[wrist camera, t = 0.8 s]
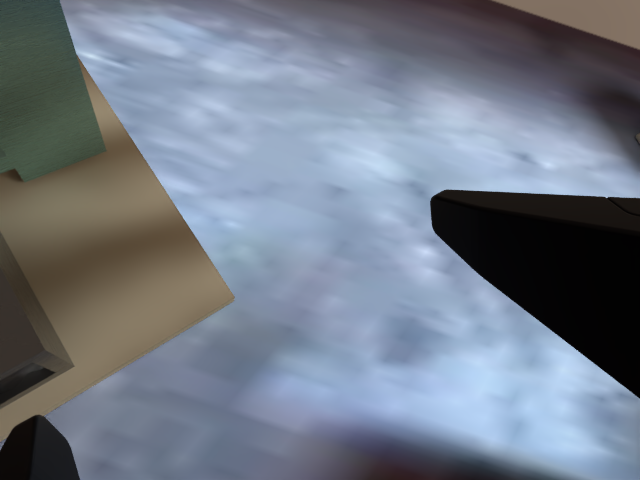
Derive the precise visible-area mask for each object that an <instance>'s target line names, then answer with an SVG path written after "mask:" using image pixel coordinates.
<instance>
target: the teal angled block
mask: <svg viewBox="0 0 640 480" xmlns="http://www.w3.org/2000/svg"><path fill="white" fill-rule="evenodd" d="M106 151H107V150H106V147H105V144H104V141H103V138H102V134H101V131H100V128H99V125H98V122H97V119H96V115H95V112H94V109H93V106H92V103H91V99H90V96H89V93H88V90H87V87H86V83H85V80H84V77H83V74H82V71H81V67H80V64H79V61H78V58H77V55H76V52H75V48H74V45H73V42H72V39H71V36H70V32H69V29H68V26H67V23H66V20H65V16H64V13H63V10H62V7H61V4H60V0H0V174H1V173H4V172H7V171H9V170H12V169H16V170H17V172H18V173H19V175H20V176H21V178H22V179H23V181H24V182H28V181H30V180H33V179H36V178H38V177H41V176H43V175H46V174H48V173H51V172H54V171H56V170H59V169H61V168H64V167H67V166H69V165H72V164H74V163H77V162H80V161H82V160H85V159H87V158H90V157H93V156H95V155H98V154H100V153H103V152H106Z"/></svg>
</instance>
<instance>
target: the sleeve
mask: <svg viewBox="0 0 640 480" xmlns="http://www.w3.org/2000/svg"><path fill="white" fill-rule="evenodd" d="M73 367H75V366H74V364H73V362H72V360H71V358H70V357H69V355H68V353H67V351H66V349H65V348H64V346H63V344H62V342H61V340H60V339H59V337H58V335H57V333H56V331H55V329H54V328H53V326H52V324H51V322H50V320H49V319H48V317H47V315H46V313H45V311H44V310H43V308H42V306H41V304H40V302H39V300H38V299H37V297H36V295H35V293H34V291H33V290H32V288H31V286H30V284H29V282H28V281H27V279H26V277H25V275H24V273H23V271H22V270H21V268H20V266H19V264H18V262H17V261H16V259H15V257H14V255H13V253H12V252H11V250H10V248H9V246H8V244H7V242H6V241H5V239H4V237H3V235H2V233H1V232H0V409H2V408H3V407H5V406H7V405H9V404H10V403H12V402H14V401H16V400H17V399H19V398H21V397H23V396H24V395H26V394H28V393H30V392H31V391H33V390H35V389H37V388H38V387H40V386H42V385H43V384H45V383H47V382H49V381H50V380H52V379H54V378H56V377H57V376H59V375H61V374H63V373H64V372H66V371H68V370H70V369H71V368H73Z"/></svg>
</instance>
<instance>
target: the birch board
mask: <svg viewBox="0 0 640 480" xmlns="http://www.w3.org/2000/svg"><path fill="white" fill-rule="evenodd" d="M76 55H77V54H76ZM77 58H78V56H77ZM78 61H79V64H80V67H81V71H82V74H83V77H84V80H85V83H86V87H87V90H88V93H89V96H90V99H91V103H92V106H93V109H94V112H95V115H96V119H97V122H98V125H99V128H100V131H101V134H102V138H103V141H104V144H105V147H106V150H107V151H106V152H103V153H100V154H98V155H95V156H93V157H90V158H87V159H85V160H82V161H80V162H77V163H74V164H72V165H69V166H67V167H64V168H61V169H59V170H56V171H54V172H51V173H48V174H46V175H43V176H41V177H38V178H36V179H33V180H30V181H28V182H24V181H23V179H22V178H21V176H20V175H19V173H18V172H17V170H16V169H12V170H9V171H7V172H4V173H1V174H0V232H1V233H2V235H3V237H4V239H5V241H6V242H7V244H8V246H9V248H10V250H11V252H12V253H13V255H14V257H15V259H16V261H17V262H18V264H19V266H20V268H21V270H22V271H23V273H24V275H25V277H26V279H27V281H28V282H29V284H30V286H31V288H32V290H33V291H34V293H35V295H36V297H37V299H38V300H39V302H40V304H41V306H42V308H43V310H44V311H45V313H46V315H47V317H48V319H49V320H50V322H51V324H52V326H53V328H54V329H55V331H56V333H57V335H58V337H59V339H60V340H61V342H62V344H63V346H64V348H65V349H66V351H67V353H68V355H69V357H70V358H71V360H72V362H73V364H74V366H75V367H73V368H71V369H70V370H68V371H66V372H64V373H63V374H61V375H59V376H57V377H56V378H54V379H52V380H50V381H49V382H47V383H45V384H43V385H42V386H40V387H38V388H37V389H35V390H33V391H31V392H30V393H28V394H26V395H24V396H23V397H21V398H19V399H17V400H16V401H14V402H12V403H10V404H9V405H7V406H5V407H3V408H2V409H0V442H1V441H3V440H4V439H6V438H7V437H8V436H9V434H10V432H11V430H12V429H13V428H14V427H15V426H16V425H18V424H19V423H21V422H23V421H25V420H27V419H28V418H30V417H32V416H34V415H42V416H44V415H46V414H47V413H49V412H51V411H52V410H54V409H56V408H57V407H59V406H61V405H62V404H64V403H66V402H67V401H69V400H71V399H72V398H74V397H76V396H77V395H79V394H81V393H82V392H84V391H86V390H87V389H89V388H91V387H92V386H94V385H96V384H97V383H99V382H101V381H102V380H104V379H106V378H107V377H109V376H111V375H112V374H114V373H116V372H117V371H119V370H121V369H122V368H124V367H125V366H127V365H129V364H130V363H132V362H134V361H135V360H137V359H139V358H140V357H142V356H144V355H145V354H147V353H149V352H150V351H152V350H154V349H155V348H157V347H159V346H160V345H162V344H164V343H165V342H167V341H169V340H170V339H172V338H174V337H175V336H177V335H179V334H180V333H182V332H184V331H185V330H187V329H189V328H190V327H192V326H194V325H195V324H197V323H199V322H200V321H202V320H204V319H205V318H207V317H208V316H210V315H212V314H213V313H215V312H217V311H218V310H220V309H222V308H223V307H225V306H227V305H228V304H230V303H232V302H233V301H234V298H235V297H234V295H233V294H232V292H231V291H230V289H229V288H228V286H227V285H226V283H225V282H224V280H223V278H222V277H221V275H220V274H219V272H218V271H217V269H216V268H215V266H214V265H213V263H212V262H211V260H210V259H209V257H208V255H207V254H206V252H205V251H204V249H203V248H202V246H201V245H200V243H199V242H198V240H197V239H196V237H195V236H194V234H193V232H192V231H191V229H190V228H189V226H188V225H187V223H186V222H185V220H184V219H183V217H182V216H181V214H180V213H179V211H178V209H177V208H176V206H175V205H174V203H173V202H172V200H171V199H170V197H169V196H168V194H167V193H166V191H165V189H164V188H163V186H162V185H161V183H160V182H159V180H158V179H157V177H156V176H155V174H154V173H153V171H152V170H151V168H150V166H149V165H148V163H147V162H146V160H145V159H144V157H143V156H142V154H141V153H140V151H139V150H138V148H137V147H136V145H135V143H134V142H133V140H132V139H131V137H130V136H129V134H128V133H127V131H126V130H125V128H124V127H123V125H122V124H121V122H120V120H119V119H118V117H117V116H116V114H115V113H114V111H113V110H112V108H111V107H110V105H109V104H108V102H107V100H106V99H105V97H104V96H103V94H102V93H101V91H100V90H99V88H98V87H97V85H96V84H95V82H94V81H93V79H92V77H91V76H90V74H89V73H88V71H87V70H86V68H85V67H84V65H83V64H82V62H81V61H80V59H79V58H78Z"/></svg>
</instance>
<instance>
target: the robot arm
mask: <svg viewBox="0 0 640 480" xmlns="http://www.w3.org/2000/svg"><path fill="white" fill-rule="evenodd" d="M430 207H431V220H432V227H433V230H434V232H435V233H436V234H437V235H438V236H439V237H440V238H441V239H442V240H443V241H444V242H445V243H446V244H447V245H448V246H449V247H450V248H451V249H452V250H453V251H454V252H455V253H457V254H458V255H459V256H460V257H461V258H462V259H463V260H464V261H465V262H466V263H467V264H468V265H469V266H470V267H471V268H472V269H474V270H475V271H476V272H477V273H478V274H479V275H480V276H482V277H483V278H484V279H485V280H487V281H488V282H489V283H490V284H492V285H493V286H494V287H496V288H497V289H498V290H500V291H501V292H502V293H503V294H505V295H506V296H507V297H509V298H510V299H511V300H513V301H514V302H515V303H516V304H518V305H519V306H520V307H522V308H523V309H524V310H526V311H527V312H528V313H529V314H531V315H532V316H533V317H535V318H536V319H537V320H539V321H540V322H541V323H542V324H544V325H545V326H546V327H548V328H549V329H550V330H552V331H553V332H554V333H555V334H557V335H558V336H559V337H561V338H562V339H563V340H565V341H566V342H567V343H568V344H570V345H571V346H572V347H574V348H575V349H576V350H578V351H579V352H580V353H581V354H583V355H584V356H585V357H587V358H588V359H589V360H591V361H592V362H593V363H594V364H596V365H597V366H598V367H600V368H601V369H602V370H603V371H605V372H606V373H607V374H609V375H610V376H611V377H613V378H614V379H615V380H616V381H618V382H619V383H620V384H622V385H623V386H624V387H626V388H627V389H628V390H629V391H631V392H632V393H633V394H635V395H636V396H637V397H639V398H640V198H619V197H608V198H606V197H596V196H574V195H553V194H531V193H509V192H488V191H466V190H444V191H442V192H440V193H438V194H436V195H434V196H433V197H432V198H431V201H430ZM0 480H80V478H79V475H78V471H77V468H76V464H75V461H74V457H73V454H72V450H71V447H70V445H69V443H68V441H67V440H66V439H65V437H64V436H63V435H62V434H61V433H60V432H59V431H58V430H57V429H56V428H55V427H54V426H53V425H52V424H51V423H50V422H49V421H48V420H47V419H46V418H45V417H44V416H42V415H34V416H32V417H30V418H28V419H27V420H25V421H23V422H21V423H19V424H18V425H16V426H15V427H14V428H13V429H12V430H11V432H10V434H9V436H8V437H7V439H6V441H5V443H4V445H3V447H2V448H1V450H0Z"/></svg>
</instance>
